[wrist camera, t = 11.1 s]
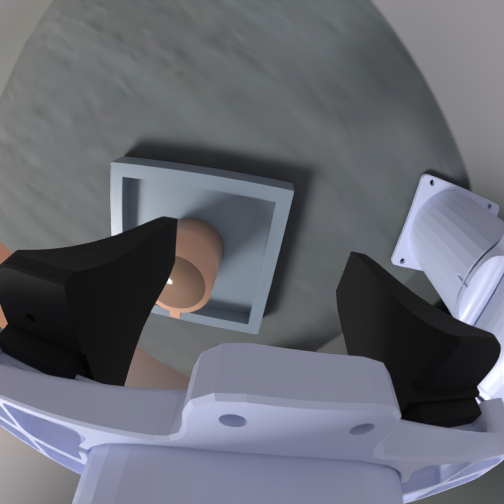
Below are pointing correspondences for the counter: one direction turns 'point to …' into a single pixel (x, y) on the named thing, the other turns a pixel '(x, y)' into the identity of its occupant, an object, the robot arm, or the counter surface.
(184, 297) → the terracotta cup
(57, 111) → the counter surface
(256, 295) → the tray
